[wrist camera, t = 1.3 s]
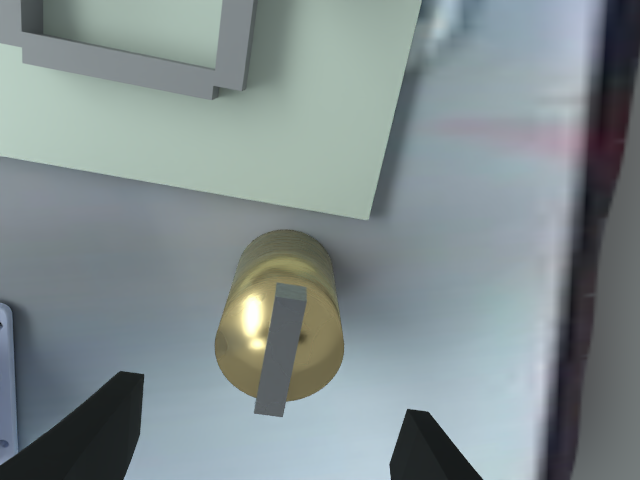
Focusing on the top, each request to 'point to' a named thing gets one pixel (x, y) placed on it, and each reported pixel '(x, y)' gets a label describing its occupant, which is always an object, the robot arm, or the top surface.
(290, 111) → the bench plate
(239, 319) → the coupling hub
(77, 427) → the robot arm
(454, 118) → the top surface
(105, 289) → the top surface
